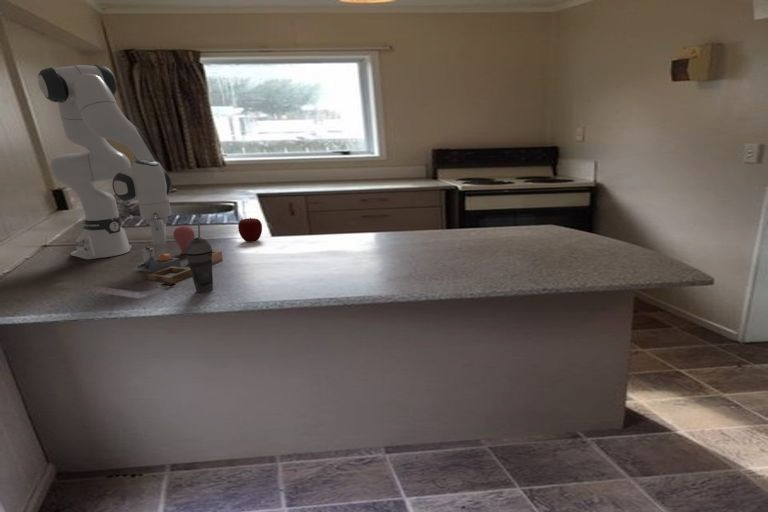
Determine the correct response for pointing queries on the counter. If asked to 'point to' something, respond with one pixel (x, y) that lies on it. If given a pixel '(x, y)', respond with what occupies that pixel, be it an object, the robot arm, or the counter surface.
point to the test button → (164, 257)
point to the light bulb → (183, 236)
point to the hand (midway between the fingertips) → (162, 252)
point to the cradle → (159, 265)
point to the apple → (250, 229)
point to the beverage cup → (200, 263)
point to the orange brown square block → (215, 256)
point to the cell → (148, 256)
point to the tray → (173, 278)
